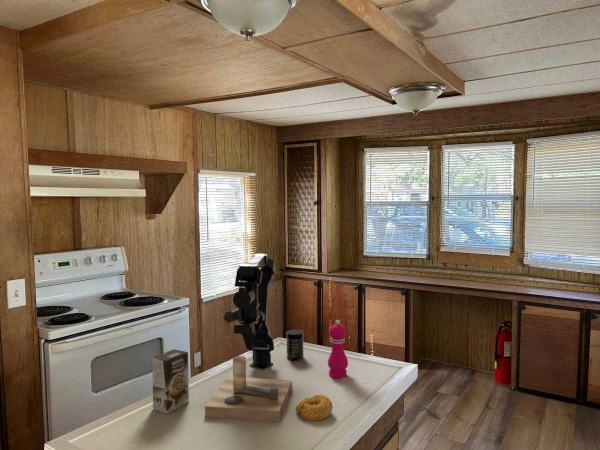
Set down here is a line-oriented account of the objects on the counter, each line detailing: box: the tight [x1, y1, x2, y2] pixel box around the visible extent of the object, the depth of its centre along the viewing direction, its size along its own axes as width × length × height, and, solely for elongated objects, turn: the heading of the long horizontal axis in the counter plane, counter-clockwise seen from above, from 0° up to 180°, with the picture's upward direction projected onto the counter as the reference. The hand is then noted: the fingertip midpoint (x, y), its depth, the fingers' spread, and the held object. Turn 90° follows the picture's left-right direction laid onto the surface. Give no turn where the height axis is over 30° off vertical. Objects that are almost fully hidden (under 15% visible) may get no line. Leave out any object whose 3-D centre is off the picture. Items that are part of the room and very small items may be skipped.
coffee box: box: [151, 348, 190, 414], centre depth 138 cm, size 9×6×16 cm
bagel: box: [295, 394, 333, 422], centre depth 133 cm, size 10×11×5 cm
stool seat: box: [204, 376, 293, 422], centre depth 141 cm, size 22×22×3 cm
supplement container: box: [285, 329, 304, 362], centre depth 179 cm, size 7×7×10 cm
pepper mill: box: [327, 319, 349, 379], centre depth 161 cm, size 7×7×20 cm
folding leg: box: [232, 355, 278, 399], centre depth 139 cm, size 4×15×10 cm, turn 66°
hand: (250, 346), depth 154 cm, fingers open, 4 cm apart
